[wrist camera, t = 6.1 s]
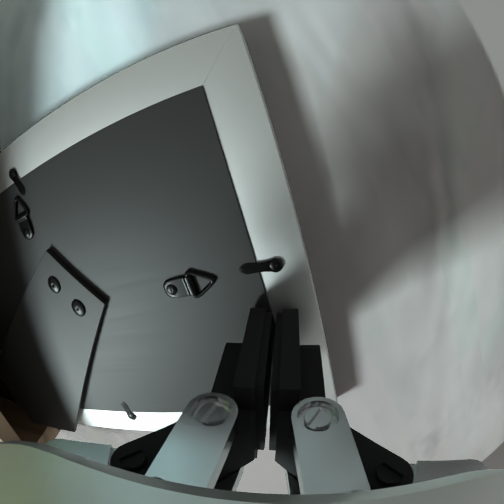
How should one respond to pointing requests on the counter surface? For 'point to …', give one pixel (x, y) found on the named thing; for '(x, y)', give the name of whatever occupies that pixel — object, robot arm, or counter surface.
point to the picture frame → (147, 240)
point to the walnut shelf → (21, 425)
